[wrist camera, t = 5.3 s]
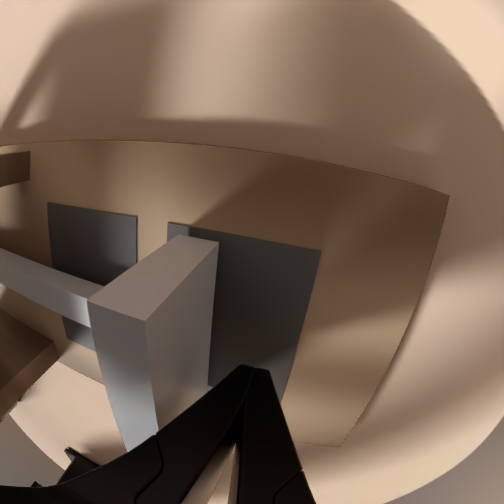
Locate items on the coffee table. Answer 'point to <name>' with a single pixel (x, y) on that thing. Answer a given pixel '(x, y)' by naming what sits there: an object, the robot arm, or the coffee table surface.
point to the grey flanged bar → (138, 327)
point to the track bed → (238, 258)
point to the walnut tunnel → (12, 330)
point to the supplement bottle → (8, 411)
